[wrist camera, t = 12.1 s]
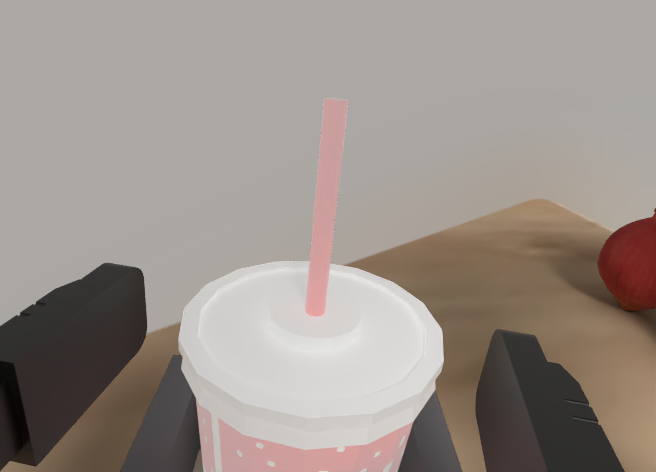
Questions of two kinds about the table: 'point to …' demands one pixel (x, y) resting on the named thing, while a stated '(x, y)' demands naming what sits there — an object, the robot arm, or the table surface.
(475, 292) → the table surface
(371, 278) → the beverage cup
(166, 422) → the grey tray on board
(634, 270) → the onion
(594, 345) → the table surface
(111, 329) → the robot arm
